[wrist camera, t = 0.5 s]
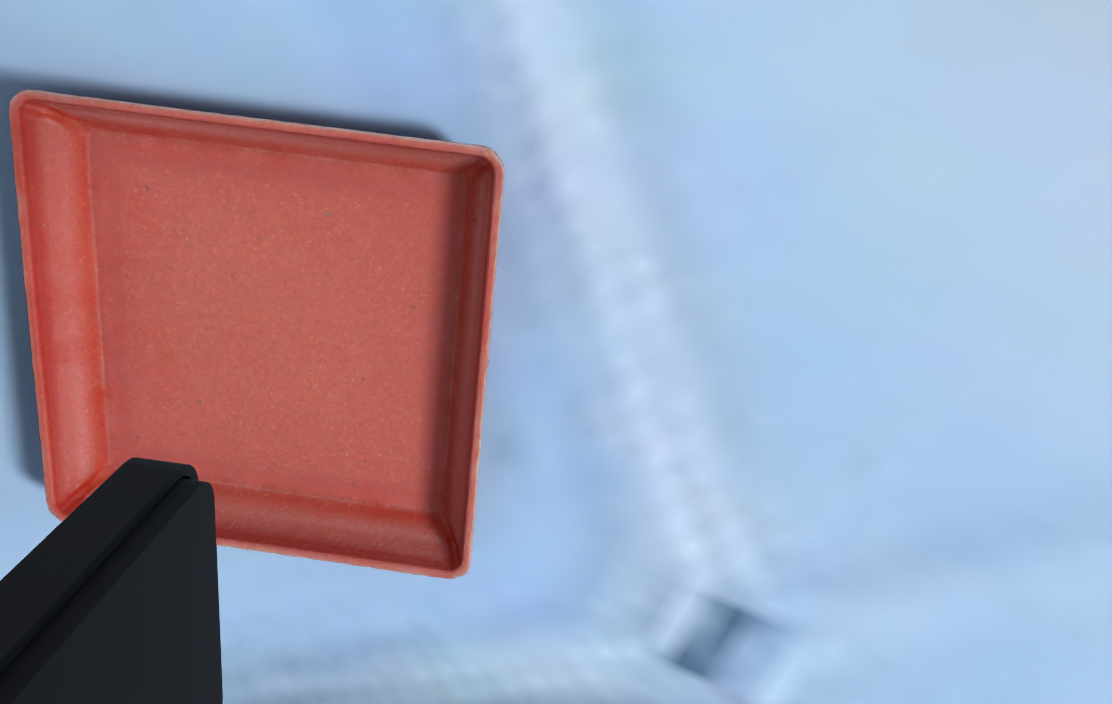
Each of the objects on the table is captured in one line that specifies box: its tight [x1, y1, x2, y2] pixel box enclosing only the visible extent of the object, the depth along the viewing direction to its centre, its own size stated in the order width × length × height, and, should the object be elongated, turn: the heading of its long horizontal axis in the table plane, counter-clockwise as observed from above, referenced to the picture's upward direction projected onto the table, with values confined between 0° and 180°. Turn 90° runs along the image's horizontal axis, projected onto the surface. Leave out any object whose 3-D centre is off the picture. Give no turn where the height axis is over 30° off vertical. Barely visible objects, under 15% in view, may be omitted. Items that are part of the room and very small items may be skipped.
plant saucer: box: [9, 89, 504, 579], centre depth 41 cm, size 18×18×3 cm
